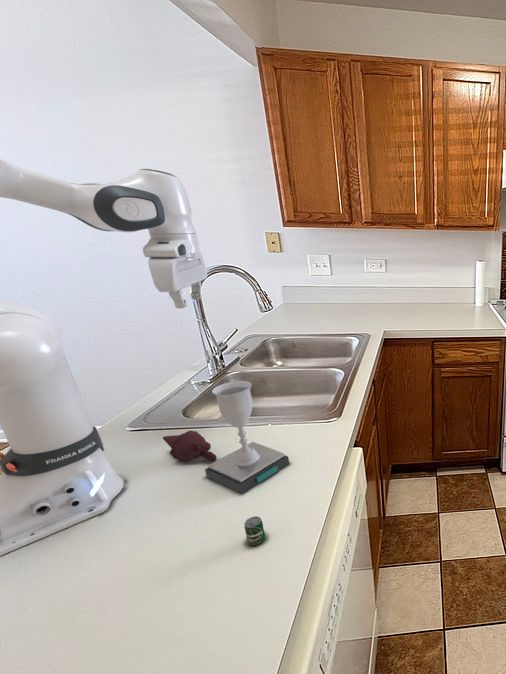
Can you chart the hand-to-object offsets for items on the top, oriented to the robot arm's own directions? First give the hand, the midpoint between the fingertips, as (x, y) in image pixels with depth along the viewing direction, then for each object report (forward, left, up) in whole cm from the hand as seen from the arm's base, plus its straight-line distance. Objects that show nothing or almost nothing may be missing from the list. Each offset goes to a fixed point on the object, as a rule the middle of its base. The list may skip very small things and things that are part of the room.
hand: (189, 303), depth 98 cm
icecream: (-13, -10, -34) cm, 38 cm away
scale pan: (-10, -27, -32) cm, 43 cm away
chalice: (-10, -27, -31) cm, 42 cm away
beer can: (-23, -47, -34) cm, 62 cm away
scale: (-10, -27, -34) cm, 45 cm away
